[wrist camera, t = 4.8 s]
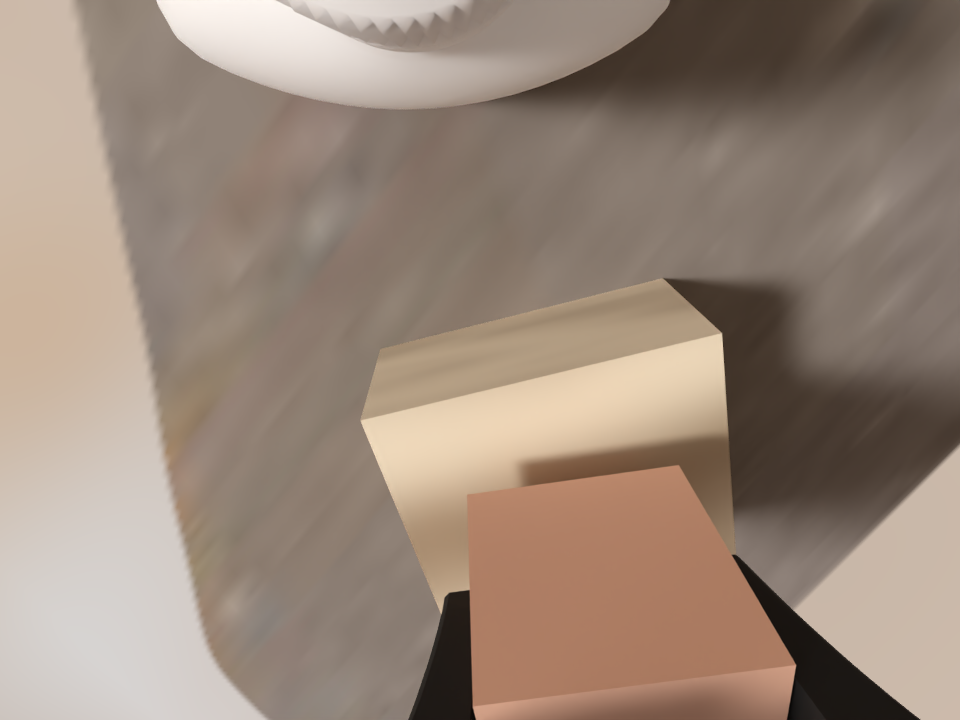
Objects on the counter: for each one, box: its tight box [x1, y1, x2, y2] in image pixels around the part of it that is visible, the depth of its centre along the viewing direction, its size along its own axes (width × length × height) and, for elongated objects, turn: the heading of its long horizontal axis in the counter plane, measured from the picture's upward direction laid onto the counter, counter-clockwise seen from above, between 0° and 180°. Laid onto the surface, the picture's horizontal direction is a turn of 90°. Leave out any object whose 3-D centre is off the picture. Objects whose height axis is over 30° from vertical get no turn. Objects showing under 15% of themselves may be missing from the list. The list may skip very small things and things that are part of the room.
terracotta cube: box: [467, 465, 796, 720], centre depth 11 cm, size 4×4×4 cm
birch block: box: [361, 278, 736, 614], centre depth 16 cm, size 8×8×4 cm
